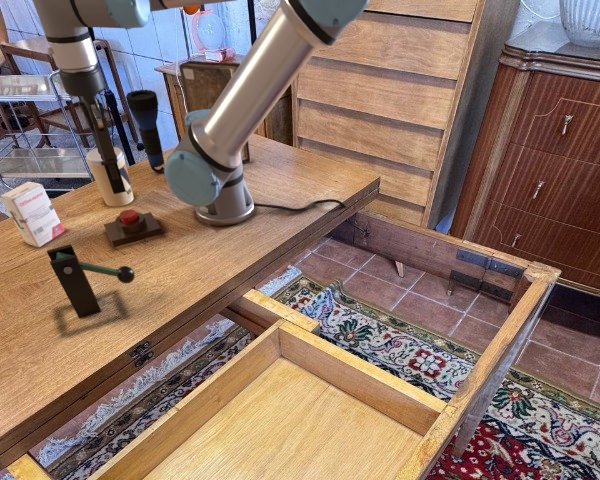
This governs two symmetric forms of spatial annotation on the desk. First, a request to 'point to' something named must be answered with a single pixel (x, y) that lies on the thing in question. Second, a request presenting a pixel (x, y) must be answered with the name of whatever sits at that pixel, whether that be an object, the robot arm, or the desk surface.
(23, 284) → the desk surface
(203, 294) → the desk surface
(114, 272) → the lever
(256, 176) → the desk surface
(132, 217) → the button
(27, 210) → the ink box
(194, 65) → the book
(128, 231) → the button block
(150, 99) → the flashlight
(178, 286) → the desk surface
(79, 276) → the bracket
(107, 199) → the coffee cup
